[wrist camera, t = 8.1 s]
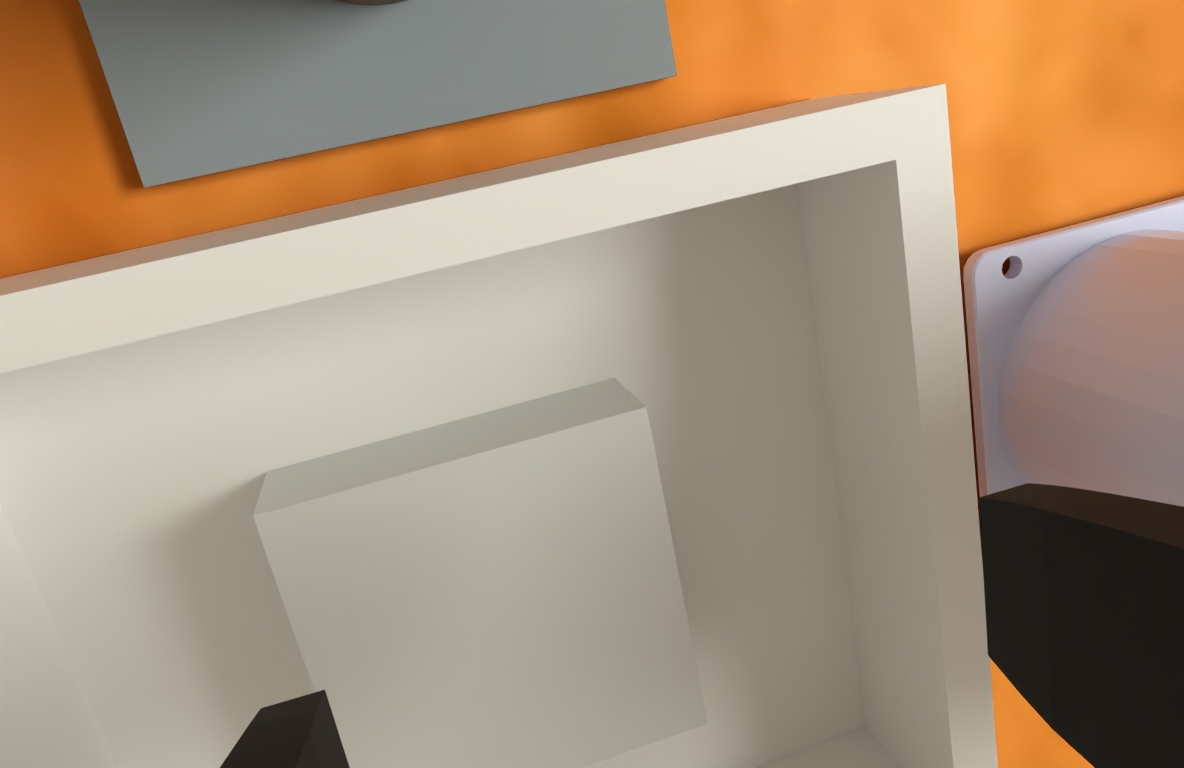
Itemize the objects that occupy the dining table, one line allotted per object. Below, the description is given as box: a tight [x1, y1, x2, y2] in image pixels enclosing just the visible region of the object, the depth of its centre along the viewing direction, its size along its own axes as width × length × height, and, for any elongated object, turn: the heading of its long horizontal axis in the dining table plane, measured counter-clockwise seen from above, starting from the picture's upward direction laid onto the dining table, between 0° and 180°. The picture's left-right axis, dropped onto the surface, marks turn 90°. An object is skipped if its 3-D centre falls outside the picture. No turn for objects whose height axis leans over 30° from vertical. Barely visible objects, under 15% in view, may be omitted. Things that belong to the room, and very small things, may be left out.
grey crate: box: [0, 84, 998, 768], centre depth 17 cm, size 18×16×4 cm
